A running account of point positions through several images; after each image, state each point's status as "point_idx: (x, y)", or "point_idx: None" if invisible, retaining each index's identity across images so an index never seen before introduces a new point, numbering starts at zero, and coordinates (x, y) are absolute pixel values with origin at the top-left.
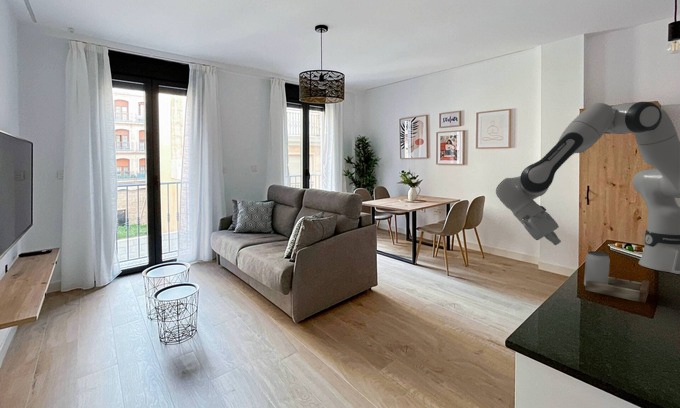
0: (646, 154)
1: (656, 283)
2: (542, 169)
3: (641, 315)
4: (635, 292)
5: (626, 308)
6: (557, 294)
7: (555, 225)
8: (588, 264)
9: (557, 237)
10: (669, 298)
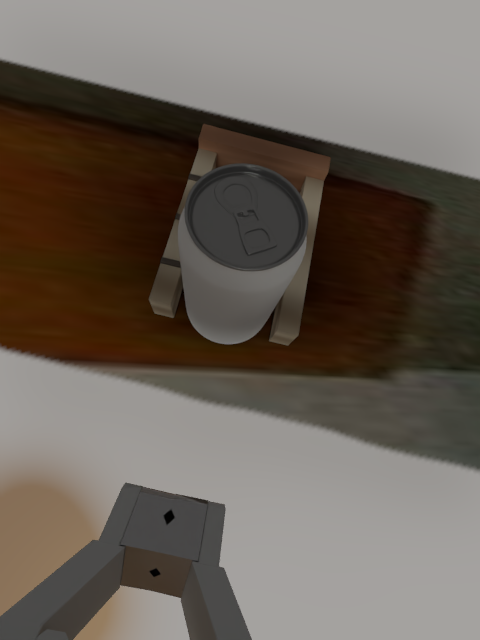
0: None
1: (71, 115)
2: None
3: (428, 221)
4: (321, 192)
5: (397, 246)
6: (407, 451)
7: None
8: (275, 297)
9: (104, 546)
10: (228, 125)
